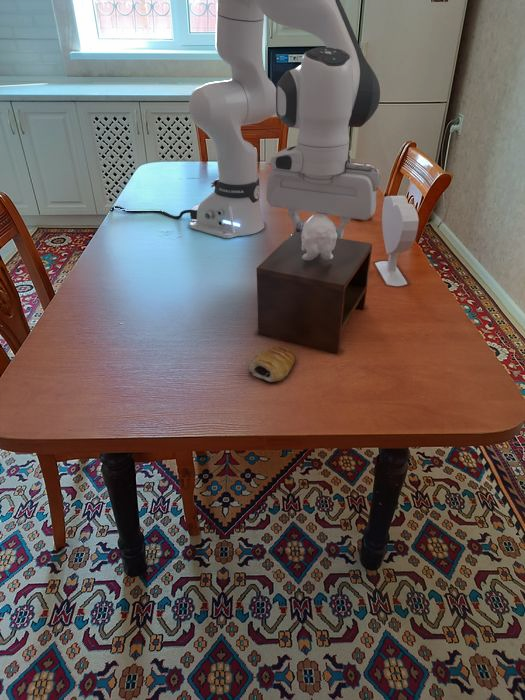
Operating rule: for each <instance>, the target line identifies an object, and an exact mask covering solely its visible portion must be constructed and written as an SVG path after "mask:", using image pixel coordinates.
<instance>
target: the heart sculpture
mask: <svg viewBox="0 0 525 700" xmlns="http://www.w3.org/2000/svg"><path fill="white" fill-rule="evenodd" d="M381 212H382V213H381V229H382V237H383V242H384V248H385V254H386V255H388V257H387V260H381V261H377V262H374V264H375V267H376V268H377V270H378V272H379V274H380V275H381V277H382V278H383V280H384V282H385V284H386V285H387V286H393V287H402V286H405V285H408V282H407V280H406V279H405V277H404V276H403V274H402V273H401V271H400V270H399V268H398V266H397V265H398V259H399V255H401V254H403V253H406V252H408V251H410V250H411V249H412V247H413V245H414V243H415V242H416V239H417V234H418V230H419V222H420V219H419V214H418V212H417V209H416V207H415V206H414V204H412V203H409V202H408V197H406V196H405V195H386V196H385V197H384V198H383V204H382V211H381Z"/></svg>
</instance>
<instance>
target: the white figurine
mask: <svg viewBox="0 0 525 700" xmlns="http://www.w3.org/2000/svg"><path fill="white" fill-rule="evenodd" d="M336 227H337V226H336V225H335V223H334V221H333V220H331V218H329V217H328V215H327V214H320V213H319V214H318V213H314V214H312V215H311V216H310V217H309V218H308V219H307V220H306V221H304V225H303V230H302V234H301V238H302V251H305V250H307V253H306V254H304V255H303V256H302V259H303V260H307V261H310V260H313V259H314V258H315V257H317V256H318V254H321V257H322V258H323V259H325V260H331V259H333V255H332V254H331V251H332V250H334V247H335V245H336V239H337V232H336Z"/></svg>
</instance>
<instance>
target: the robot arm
mask: <svg viewBox="0 0 525 700" xmlns="http://www.w3.org/2000/svg"><path fill="white" fill-rule="evenodd" d="M265 17H266V18H268V19H269V20H271V21H272V22H274V23H276V24H279V25H280V26H284V27H288V28H292V29H297V30H301V31H303V32H306V33H308V34H310V35H313V36H315V37H316V38H317V39H319V40H320V41H322V43H323V45H324V46H321V47H313V48H312V49H309V50H307V51H305V52H304V54H303V55H302V59H301V64H300V65H298V66H296V67H295V68H292V69H290V70H289V69H288V70H287V71H285V72H284V74H282V76H281V77H280V79H279V80H278V81H277V83H276V85H275V84H274V83H273V81H272V80H271V79H270V78H269V77H268V75H267V73H266V70H265V67H264V60H263V35H264V23H265ZM215 21H216V23H215V50H216V52H217V54H218V56H219V57H220V58H221V60H223V61H224V62H225V63H226V64H228V65H229V66H230V70H231V78H230V79H229V80H228V79H227V80H221V81H212V82H208V83H205V84H204V85H201V86H199V87H196V88H194V89H193V91H192V92H191V94H190V96H189V100H188V101H189V102H188V110H189V114H190V117H191V120H192V121H193V122H194V124H195V125H196V127H198V128H199V129H200V130H202V131H203V132H204V133H205V134H206V135H207V136H208V138H209V139H210V141H211V143H212V145H213V148H214V151H215V154H216V162H217V172H218V177H217V178H216V179H214V181H213V182H211V183H210V185H211V188H213V187H214V190H213V192H211V193H210V194H209V195H208V196H206V197H205V198H204V199H203V200H202V201H201V202H200V203H196V204H195V205H193V206H192V207H191V208H190V209H184V210H182V211H181V212H179V214H178V215H173V214H171V213H168V212H166V211H164V210H160V211H125V210H120V209H126V208H125V207H123V206H120V205H115V206H112V207H111V208H110V209H109V212H114V211H115V210H116V209H114V207H115V208H120V209H118V210H120V211H122V212H124V213H127V214H161V215H164V216H165V217H168V218H171V219H174V220H180V219H182V217H183V215H185V214H189V216H190V220H191V221H190V222H189V228H190V229H193V230H196V231H199V232H202V233H207V234H209V235H213V236H216V237H220V238H223V239H232V238H235V237H243V236H250V235H254V234H257V233H259V232H261V231H262V230H264V228H265V223H264V220H263V216H262V211H261V204H260V198H261V188H260V178H259V172H258V171H259V169H258V168H259V166H258V165H259V164H258V151H257V149H256V147H255V146H254V145H253V144H252V143H251V142H249V141H248V140H245V139H244V138H243V135H242V129H241V127H243V126H249V125H253V124H259V123H261V122H263V121H264V122H265V120H268V119H269V118H271V117H273V116H274V115H275V114H276V117H277V118H278V119H279V120H280V121H281V122H282V123H283V124H285V126H286V127H288V128H292V129H297V130H298V135H297V139H296V145H294V146H290V147H286V148H284V149H281V150H280V151H278V152H276V153H275V154H273V155H272V156H271V157H270V160H269V161H270V162H269V164H270V167H271V170H270V171H269V172H268V175H267V179H266V188H265V189H266V191H265V200H266V202H267V204H268V205H269V206H270V207H274V208H280V209H281V208H282V209H287V211H288V212H287V213H288V216H289V218H290V220H291V222H292V224H293V232H302V230H303V226H304V224H305V221H304V220H301V219H300V215H299V213H298V212H306V213H307V212H308V213H314V214H319V215H320V214H324V215H326V216H335V217H340V219H339V221H340V223H342V224H341V225H340V226H335V227H336V232H337V239H343V237H344V233H345V228H346V226H347V225H348V224H349V222H350V221H351V220H352V219H353V218H354V220H359V221H360V220H361V221H368V220H370V219H371V218H372V217H373V215H374V214H375V212H376V210H377V209H376V208H377V190H378V189H379V186H380V181H381V173H380V171H379V170H378V168H377V167H374V165H373V164H372V163H367V162H366V163H361V162H356V161H348V160H349V149H350V134H349V128H361V127H362V126H364V125H365V124H366V123H367V122H368V121H369V120H370V119H371V118H372V117H373V116H374V115H375V113H376V111H377V110H378V108H379V105H380V100H381V88H380V82H379V78H378V76H377V74H376V73H375V71H374V70H373V68H372V67H371V65H370V63H368V61H367V59H366V56H365V55H364V53H363V51H362V49H361V46H360V44H359V41H358V39H357V36H356V35H355V32H354V29H353V27H352V25H351V21H350V20H349V18H348V16H347V13H346V11H345V8H344V6H343V4H342V2H341V0H217V2H216V20H215ZM111 209H112V210H111ZM162 211H163V212H162ZM371 216H372V217H371ZM370 217H371V218H370ZM369 218H370V219H369Z"/></svg>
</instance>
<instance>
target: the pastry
mask: <svg viewBox="0 0 525 700" xmlns="http://www.w3.org/2000/svg"><path fill="white" fill-rule="evenodd" d="M296 356H297V355H296V353H295V351H294V350H293V349H291V348H290V347H288V346H286V345H285V346H284V345H280V346H277V347H275V346H274V347H272V348H267V349H266V350H263V351H261V352H260V354H257V355H256V356H255V357H254V358H253V360H252V363H251V364H250V366H249V367H248V369H249V372H250V373H251V375H252V376H253V377H256V378H259V379H261V380H264V381H266V382H269V383H274V382H275V383H276V382H279V381H282V380H283V379H285V378H286V377H287V376H288V375H289V373H290V372H291V370H292V368H293V366H294V364H295V361H296Z"/></svg>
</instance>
